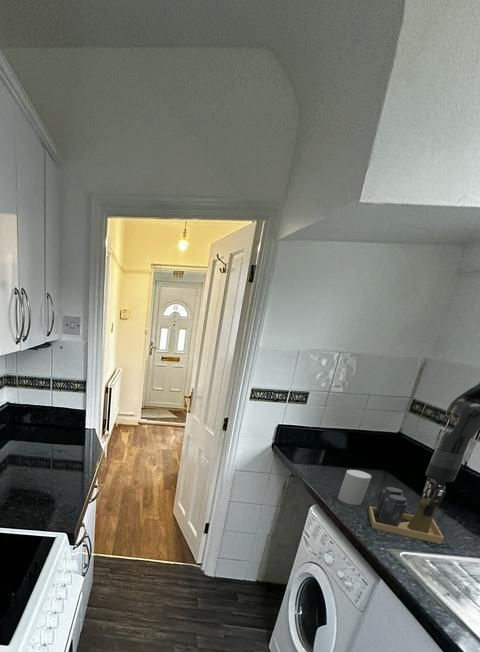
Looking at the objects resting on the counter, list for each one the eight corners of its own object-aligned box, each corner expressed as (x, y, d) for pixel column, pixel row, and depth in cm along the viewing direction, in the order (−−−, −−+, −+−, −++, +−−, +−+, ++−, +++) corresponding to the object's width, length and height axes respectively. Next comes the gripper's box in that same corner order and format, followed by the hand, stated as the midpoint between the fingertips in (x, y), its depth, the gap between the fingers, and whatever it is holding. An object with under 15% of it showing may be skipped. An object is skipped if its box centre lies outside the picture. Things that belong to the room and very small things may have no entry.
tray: (430, 525, 144) (433, 519, 143) (440, 544, 132) (444, 537, 131) (367, 512, 152) (369, 506, 151) (371, 529, 139) (373, 522, 138)
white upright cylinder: (365, 507, 157) (376, 478, 152) (346, 507, 155) (357, 478, 150) (350, 497, 164) (360, 469, 159) (332, 498, 162) (341, 469, 157)
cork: (407, 522, 144) (419, 494, 139) (428, 528, 141) (441, 499, 136) (407, 529, 139) (419, 499, 134) (428, 535, 136) (442, 505, 131)
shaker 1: (392, 516, 148) (403, 488, 144) (394, 523, 143) (406, 494, 139) (373, 512, 151) (383, 485, 146) (374, 519, 146) (385, 490, 141)
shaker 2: (395, 525, 142) (407, 496, 137) (398, 532, 137) (410, 502, 132) (375, 521, 144) (386, 492, 140) (377, 528, 139) (388, 498, 135)
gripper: (466, 473, 123) (443, 523, 130) (453, 460, 135) (433, 507, 142) (435, 468, 126) (415, 518, 133) (425, 456, 138) (407, 502, 145)
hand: (424, 512), depth 137 cm, fingers closed on cork, 5 cm apart
